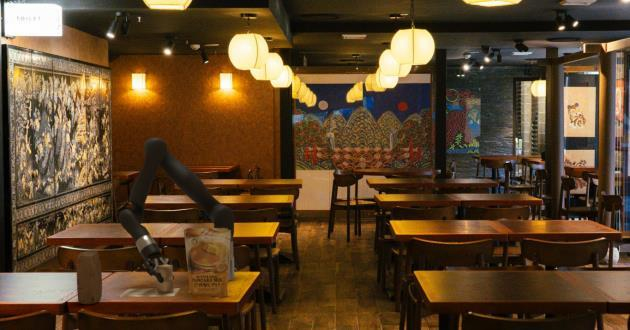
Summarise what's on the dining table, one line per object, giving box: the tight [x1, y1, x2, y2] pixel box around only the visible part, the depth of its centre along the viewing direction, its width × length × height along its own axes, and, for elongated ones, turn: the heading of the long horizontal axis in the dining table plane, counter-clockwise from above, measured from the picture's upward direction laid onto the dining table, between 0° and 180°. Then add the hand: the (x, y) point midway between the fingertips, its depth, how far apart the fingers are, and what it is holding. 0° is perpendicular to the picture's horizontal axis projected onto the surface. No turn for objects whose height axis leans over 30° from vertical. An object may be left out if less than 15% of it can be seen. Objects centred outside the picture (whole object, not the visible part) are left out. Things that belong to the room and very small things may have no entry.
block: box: [76, 250, 103, 305], centre depth 302 cm, size 11×8×20 cm
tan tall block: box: [156, 265, 174, 294], centre depth 310 cm, size 5×5×11 cm
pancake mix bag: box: [183, 227, 231, 298], centre depth 308 cm, size 7×19×28 cm, turn 86°
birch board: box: [119, 287, 181, 298], centre depth 311 cm, size 22×14×2 cm, turn 89°
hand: (167, 280), depth 309 cm, fingers closed on tan tall block, 4 cm apart
